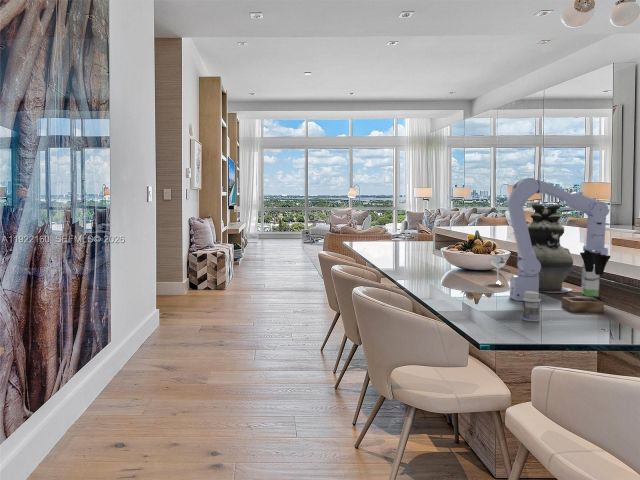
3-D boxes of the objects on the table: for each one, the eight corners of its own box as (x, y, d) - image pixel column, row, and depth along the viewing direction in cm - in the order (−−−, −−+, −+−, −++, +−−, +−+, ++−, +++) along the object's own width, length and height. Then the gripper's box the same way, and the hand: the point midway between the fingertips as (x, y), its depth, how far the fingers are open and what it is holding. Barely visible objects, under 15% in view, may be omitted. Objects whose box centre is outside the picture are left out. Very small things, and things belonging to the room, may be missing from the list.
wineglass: (486, 281, 225) (487, 255, 224) (499, 281, 227) (500, 255, 226) (496, 284, 219) (497, 256, 218) (509, 283, 221) (510, 256, 220)
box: (571, 312, 162) (571, 301, 162) (561, 307, 170) (561, 297, 169) (603, 312, 161) (604, 302, 161) (592, 307, 169) (592, 297, 169)
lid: (573, 308, 171) (573, 298, 171) (563, 303, 180) (563, 294, 179) (605, 309, 170) (606, 299, 170) (594, 304, 179) (594, 295, 178)
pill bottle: (525, 317, 153) (526, 290, 153) (541, 319, 151) (542, 292, 150) (520, 320, 150) (521, 292, 149) (536, 322, 147) (537, 294, 146)
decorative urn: (528, 285, 221) (529, 205, 219) (579, 290, 206) (581, 204, 204) (507, 289, 205) (508, 204, 204) (561, 295, 191) (563, 203, 189)
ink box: (599, 297, 190) (600, 266, 189) (584, 296, 192) (585, 265, 191) (594, 293, 198) (595, 263, 197) (580, 292, 200) (581, 263, 199)
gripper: (617, 236, 170) (615, 276, 171) (597, 234, 185) (596, 270, 186) (596, 236, 171) (594, 275, 172) (578, 233, 185) (576, 270, 186)
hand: (593, 273), depth 179 cm, fingers open, 7 cm apart
